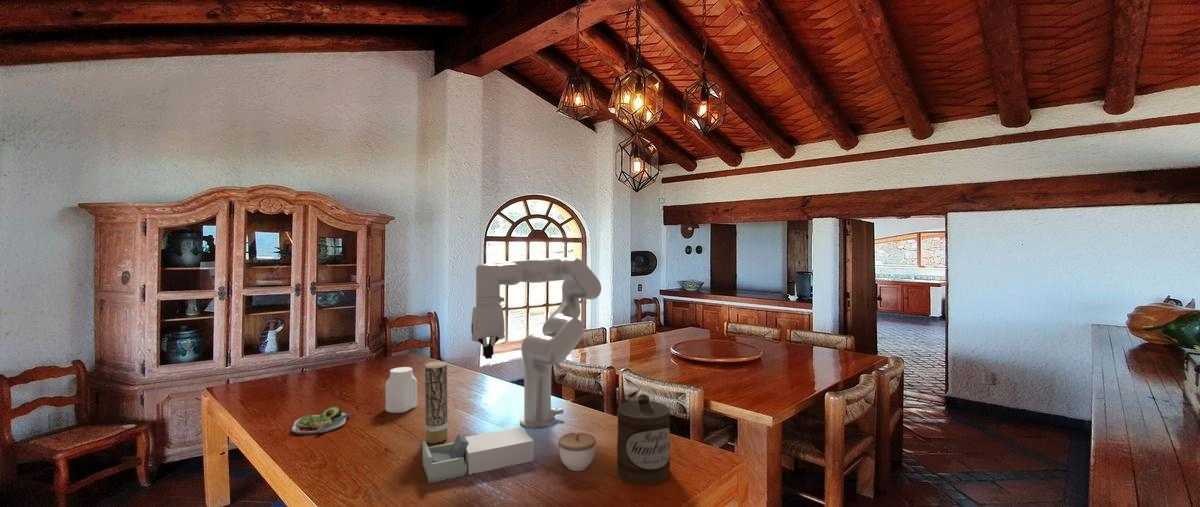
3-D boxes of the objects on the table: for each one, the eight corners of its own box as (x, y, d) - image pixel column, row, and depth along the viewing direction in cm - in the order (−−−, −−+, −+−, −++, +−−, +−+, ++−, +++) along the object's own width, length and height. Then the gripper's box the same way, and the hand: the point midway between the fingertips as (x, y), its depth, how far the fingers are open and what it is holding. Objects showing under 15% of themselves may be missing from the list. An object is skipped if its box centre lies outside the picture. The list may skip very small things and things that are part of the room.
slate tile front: (429, 452, 137) (427, 459, 137) (432, 460, 132) (430, 467, 132) (450, 454, 140) (447, 461, 140) (454, 462, 135) (451, 469, 134)
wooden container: (632, 489, 126) (632, 406, 125) (608, 465, 139) (608, 390, 139) (680, 478, 132) (680, 399, 131) (653, 457, 145) (653, 384, 145)
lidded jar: (567, 478, 132) (567, 444, 132) (552, 462, 141) (552, 430, 141) (602, 469, 137) (602, 437, 137) (585, 455, 146) (585, 424, 146)
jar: (403, 401, 196) (403, 365, 196) (421, 404, 192) (421, 367, 192) (380, 410, 185) (380, 371, 185) (399, 414, 182) (399, 374, 181)
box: (458, 458, 144) (457, 435, 144) (466, 475, 133) (466, 450, 133) (422, 465, 139) (422, 441, 139) (429, 483, 129) (428, 457, 129)
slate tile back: (464, 435, 142) (458, 433, 141) (468, 443, 137) (462, 441, 136) (455, 455, 141) (448, 453, 140) (459, 463, 136) (452, 462, 135)
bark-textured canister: (440, 445, 153) (440, 367, 153) (421, 443, 155) (420, 366, 154) (451, 436, 160) (451, 362, 160) (432, 435, 161) (432, 361, 161)
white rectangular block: (520, 445, 153) (520, 427, 153) (533, 460, 143) (533, 440, 142) (459, 457, 144) (459, 438, 144) (468, 474, 134) (468, 453, 134)
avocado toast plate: (347, 433, 164) (347, 420, 164) (285, 441, 157) (285, 427, 157) (352, 415, 182) (352, 402, 181) (297, 421, 175) (297, 409, 175)
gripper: (507, 299, 163) (507, 353, 164) (462, 301, 156) (462, 358, 157) (513, 301, 157) (513, 357, 157) (467, 304, 150) (467, 363, 150)
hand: (488, 357), depth 157 cm, fingers closed
